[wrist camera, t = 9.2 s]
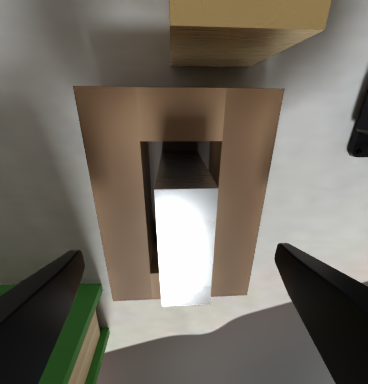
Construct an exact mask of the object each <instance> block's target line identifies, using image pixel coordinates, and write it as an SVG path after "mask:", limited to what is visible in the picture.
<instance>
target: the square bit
mask: <svg viewBox="0 0 368 384" xmlns="http://www.w3.org/2000/svg"><path fill="white" fill-rule="evenodd" d="M331 1H332V0H170V53H171V66H225V67H250V66H252V65H254V64H256V63H258V62H260V61H262V60H264V59H266V58H269V57H271V56H273V55H275V54H277V53H279V52H281V51H283V50H285V49H287V48H289V47H291V46H293V45H295V44H297V43H299V42H301V41H303V40H305V39H308V38H310V37H312V36H314V35H316V34H318V33H320V32H322V31H324V30H325V27H326V23H327V19H328V14H329V10H330V6H331Z"/></svg>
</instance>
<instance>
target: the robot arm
mask: <svg viewBox="0 0 368 384" xmlns="http://www.w3.org/2000/svg"><path fill="white" fill-rule="evenodd" d="M357 148H358V150H357ZM356 150H357V152H356ZM348 153H349V155H350V156H354V157H368V91H367V94H366V97H365V100H364V103H363V107H362V110H361V113H360V116H359V119H358V122H357V125H356V128H355V131H354V134H353V137H352V140H351V143H350V146H349V149H348ZM275 263H276V265H277V268H278V270H279V273H280V275H281V278H282V280H283V283H284V285H285V288H286V290H287V292H288V294H289V296H290V298H291V300H292V302H293V304H294V306H295V308H296V309H297V311H298V313H299V315H300V317H301V319H302V321H303V323H304V325H305V327H306V329H307V330H308V332H309V334H310V336H311V338H312V340H313V342H314V344H315V346H316V347H317V349H318V351H319V353H320V355H321V357H322V359H323V361H324V362H325V364H326V366H327V368H328V370H329V372H330V374H331V376H332V378H333V380H334V381H335V383H336V384H368V286H366V285H364V284H362V283H360V282H358V281H357V280H355V279H353V278H351V277H349V276H347V275H346V274H344V273H342V272H340V271H338V270H336V269H334V268H333V267H331V266H329V265H327V264H325V263H323V262H322V261H320V260H318V259H316V258H314V257H312V256H311V255H309V254H307V253H305V252H303V251H301V250H300V249H298V248H296V247H294V246H292V245H290V244H288V243H279V244H278V245H277V249H276V253H275ZM84 268H85V264H84V259H83V255H82V252H81V250H70V251H68V252H67V253H65V254H64V255H62V256H61V257H59V258H57V259H56V260H54V261H53V262H51V263H50V264H48V265H47V266H45V267H44V268H42V269H41V270H39V271H37V272H36V273H34V274H33V275H31V276H30V277H28V278H27V279H25V280H24V281H22V282H20V283H19V284H17V285H16V286H14V287H13V288H11V289H10V290H8V291H7V292H5V293H3V294H2V295H0V384H38V383H39V381H40V379H41V376H42V374H43V372H44V370H45V367H46V365H47V363H48V360H49V358H50V356H51V354H52V351H53V349H54V347H55V344H56V342H57V340H58V338H59V335H60V333H61V331H62V328H63V326H64V324H65V322H66V319H67V317H68V315H69V312H70V310H71V308H72V305H73V303H74V300H75V297H76V294H77V291H78V288H79V284H80V281H81V278H82V275H83V272H84Z"/></svg>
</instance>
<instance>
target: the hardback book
mask: <svg viewBox="0 0 368 384" xmlns="http://www.w3.org/2000/svg"><path fill="white" fill-rule="evenodd" d="M14 286H16V285H11V286H0V295H2V294H3V293H5V292H7V291H8V290H10V289H11V288H13V287H14ZM101 293H102V285H101V284H79V288H78V291H77V294H76V297H75V300H74V303H73V305H72V308H71V310H70V312H69V315H68V317H67V319H66V322H65V324H64V326H63V328H62V331H61V333H60V335H59V338H58V340H57V342H56V344H55V347H54V349H53V351H52V354H51V356H50V358H49V360H48V363H47V365H46V367H45V370H44V372H43V374H42V376H41V379H40V381H39V383H38V384H96V382H97V378H98V374H99V370H100V367H101V363H102V360H103V356H104V352H105V349H106V345H107V341H108V337H109V334H110V333H109V328H99V325H98V320H97V315H96V307H97V304H98V302H99V299H100V296H101Z"/></svg>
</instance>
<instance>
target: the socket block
mask: <svg viewBox="0 0 368 384" xmlns="http://www.w3.org/2000/svg"><path fill="white" fill-rule="evenodd" d="M73 89H74V94H75V100H76V105H77V110H78V116H79V121H80V127H81V132H82V137H83V143H84V148H85V153H86V159H87V164H88V169H89V175H90V180H91V186H92V191H93V196H94V202H95V207H96V212H97V218H98V223H99V228H100V234H101V239H102V245H103V250H104V255H105V261H106V266H107V271H108V277H109V282H110V287H111V293H112V298H113V301H125V300H147V299H161V291H160V275H159V259H158V243H157V227H156V211H155V195H154V188H155V183H156V178H157V173H158V168H159V164H160V159H161V154H162V151H198V153H199V155H200V156H201V158H202V160H203V162H204V163H205V165H206V167H207V169H208V171H209V172H210V174H211V176H212V178H213V179H214V181H215V183H216V185H217V187H218V201H217V215H216V229H215V242H214V256H213V270H212V283H211V297H215V296H237V295H247V292H248V286H249V281H250V275H251V270H252V264H253V259H254V253H255V248H256V242H257V237H258V231H259V226H260V220H261V215H262V209H263V204H264V198H265V193H266V187H267V182H268V176H269V171H270V165H271V160H272V154H273V149H274V143H275V138H276V132H277V126H278V121H279V115H280V110H281V104H282V99H283V93H284V89H264V88H184V87H104V86H73Z"/></svg>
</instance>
